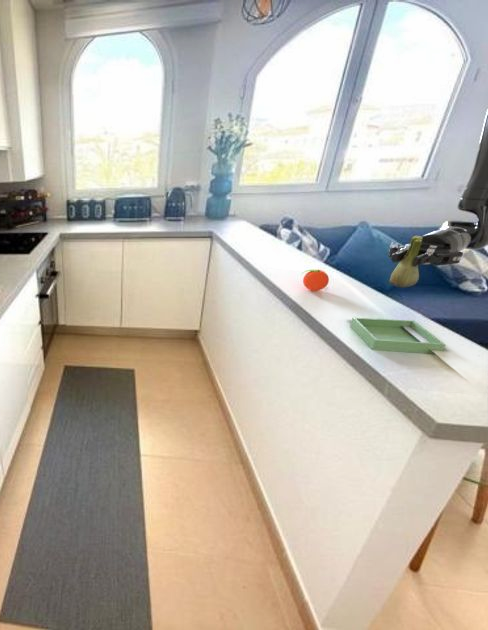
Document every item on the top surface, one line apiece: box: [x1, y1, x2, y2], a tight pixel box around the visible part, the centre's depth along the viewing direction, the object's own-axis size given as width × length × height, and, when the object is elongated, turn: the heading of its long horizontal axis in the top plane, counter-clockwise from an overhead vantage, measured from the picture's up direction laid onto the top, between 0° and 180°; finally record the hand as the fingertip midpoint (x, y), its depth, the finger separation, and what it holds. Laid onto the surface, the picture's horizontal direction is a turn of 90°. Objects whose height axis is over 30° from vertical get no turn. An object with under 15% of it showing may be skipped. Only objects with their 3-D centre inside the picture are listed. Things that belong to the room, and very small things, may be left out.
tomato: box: [302, 269, 330, 292], centre depth 113 cm, size 8×7×7 cm
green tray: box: [349, 316, 447, 355], centre depth 84 cm, size 13×12×3 cm
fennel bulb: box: [389, 235, 423, 288], centre depth 82 cm, size 6×5×12 cm
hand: (405, 260), depth 80 cm, fingers closed on fennel bulb, 3 cm apart
